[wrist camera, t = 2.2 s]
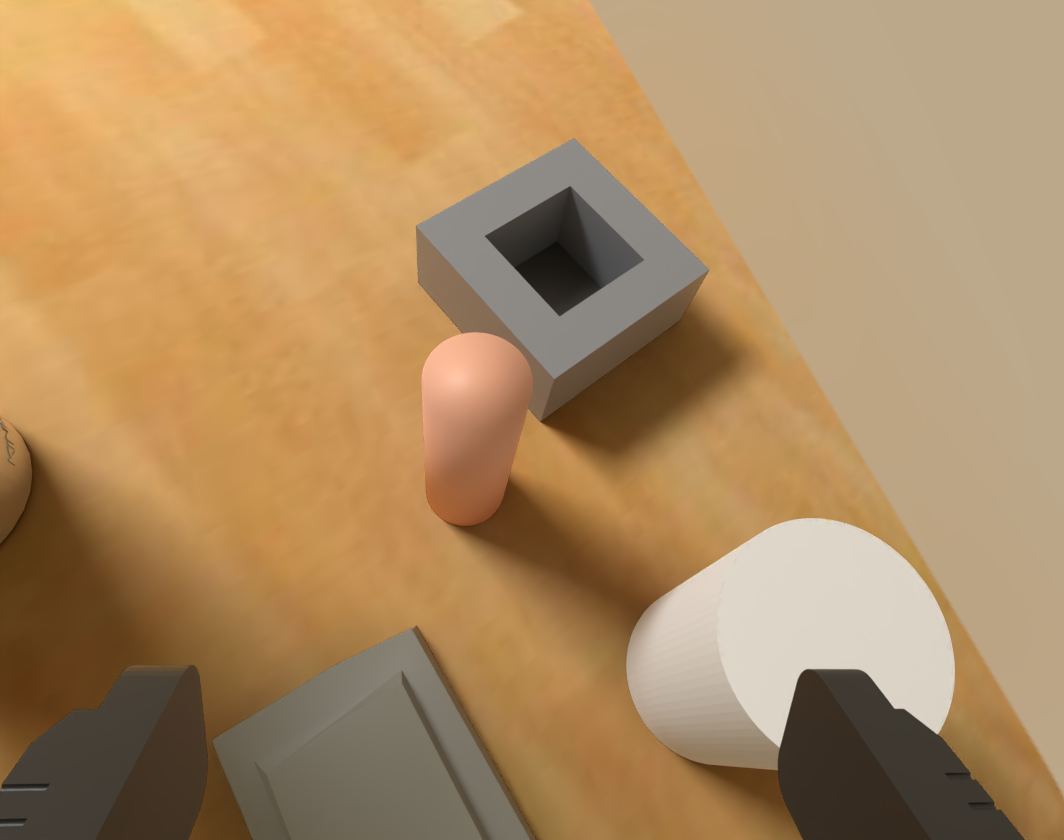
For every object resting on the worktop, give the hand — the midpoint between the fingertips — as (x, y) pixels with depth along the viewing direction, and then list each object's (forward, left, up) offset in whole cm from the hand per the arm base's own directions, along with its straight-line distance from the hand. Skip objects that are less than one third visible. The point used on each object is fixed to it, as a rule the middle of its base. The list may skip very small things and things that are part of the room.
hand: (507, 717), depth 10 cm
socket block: (+18, +15, -25) cm, 34 cm away
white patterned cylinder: (+11, -6, -25) cm, 28 cm away
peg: (+7, +9, -25) cm, 27 cm away
